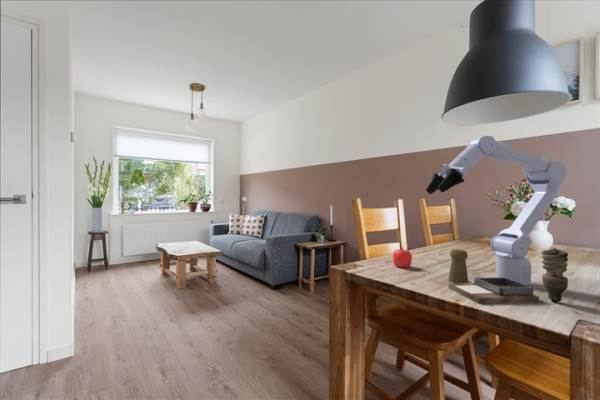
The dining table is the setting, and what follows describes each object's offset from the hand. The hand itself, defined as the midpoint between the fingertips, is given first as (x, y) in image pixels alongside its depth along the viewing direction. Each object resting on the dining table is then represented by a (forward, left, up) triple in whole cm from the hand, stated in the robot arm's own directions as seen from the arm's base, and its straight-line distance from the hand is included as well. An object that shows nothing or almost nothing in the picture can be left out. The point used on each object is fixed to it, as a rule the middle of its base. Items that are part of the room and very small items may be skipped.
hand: (433, 191), depth 92 cm
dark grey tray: (-15, +11, -29) cm, 35 cm away
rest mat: (-6, +11, -29) cm, 32 cm away
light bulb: (-25, +18, -31) cm, 44 cm away
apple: (-1, -23, -31) cm, 39 cm away
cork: (-11, -2, -31) cm, 33 cm away
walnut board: (-12, +11, -31) cm, 35 cm away
